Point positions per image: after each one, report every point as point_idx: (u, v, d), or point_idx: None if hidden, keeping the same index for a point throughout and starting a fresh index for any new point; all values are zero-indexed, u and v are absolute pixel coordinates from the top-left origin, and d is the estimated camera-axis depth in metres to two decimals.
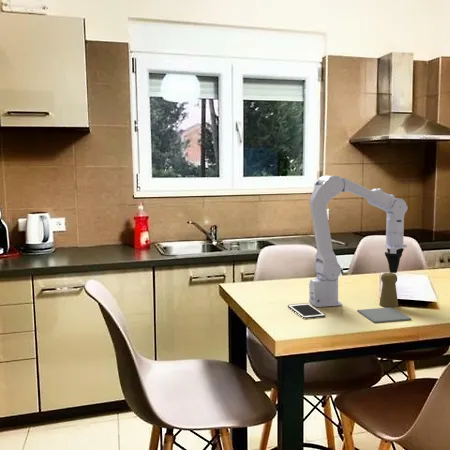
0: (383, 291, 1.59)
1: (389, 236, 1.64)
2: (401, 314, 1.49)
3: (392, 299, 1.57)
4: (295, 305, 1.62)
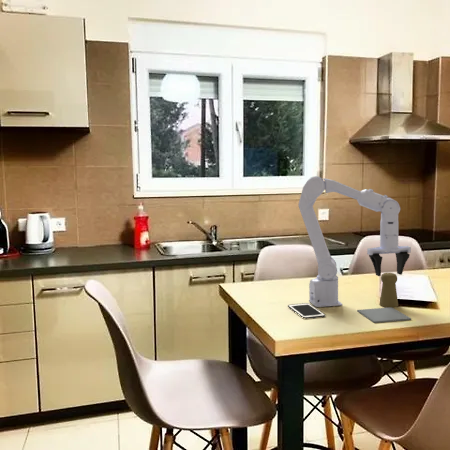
0: (383, 291, 1.59)
1: None
2: (401, 314, 1.49)
3: (392, 299, 1.57)
4: (295, 305, 1.62)
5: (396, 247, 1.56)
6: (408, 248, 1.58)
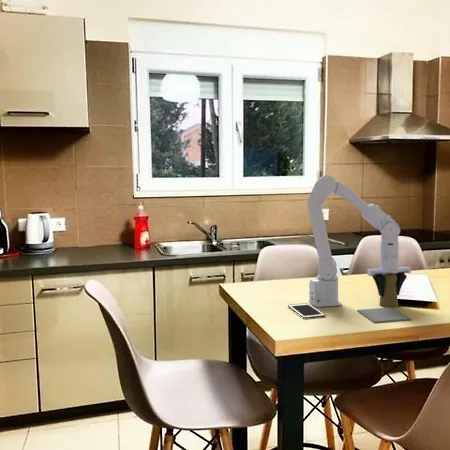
0: None
1: None
2: (401, 314, 1.49)
3: (392, 299, 1.57)
4: (295, 305, 1.62)
5: (396, 268, 1.57)
6: (408, 269, 1.59)
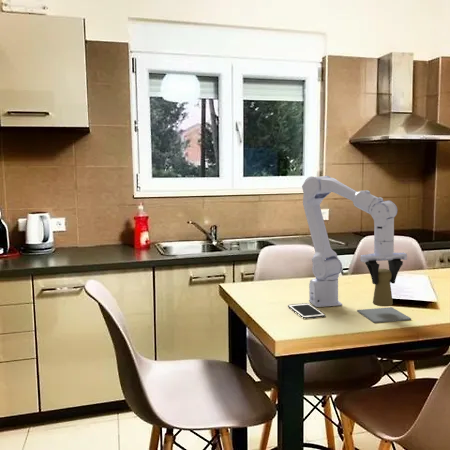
0: (377, 289, 1.48)
1: None
2: (401, 314, 1.49)
3: (386, 297, 1.47)
4: (295, 305, 1.62)
5: (391, 254, 1.45)
6: (404, 255, 1.47)
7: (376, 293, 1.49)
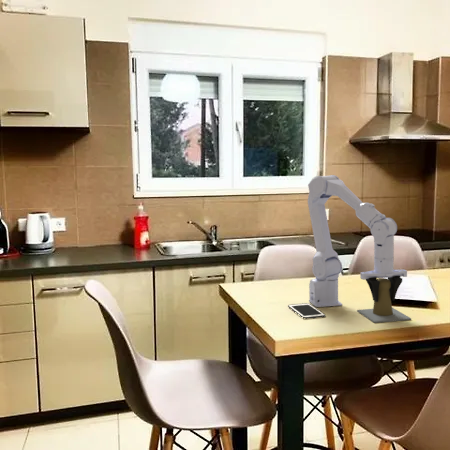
0: None
1: None
2: (401, 314, 1.49)
3: (386, 306, 1.48)
4: (295, 305, 1.62)
5: (391, 271, 1.46)
6: (404, 272, 1.48)
7: (376, 302, 1.49)
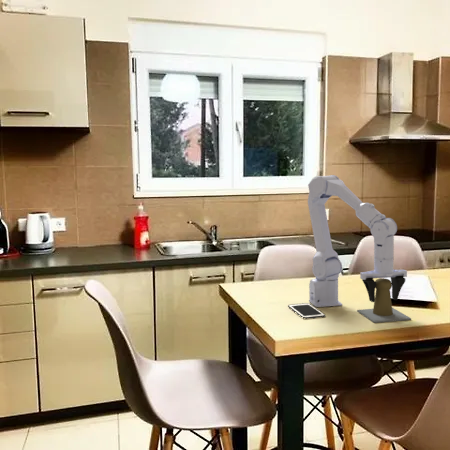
0: (377, 298, 1.49)
1: None
2: (401, 314, 1.49)
3: (386, 307, 1.48)
4: (295, 305, 1.62)
5: (391, 271, 1.46)
6: (404, 272, 1.48)
7: (376, 302, 1.49)
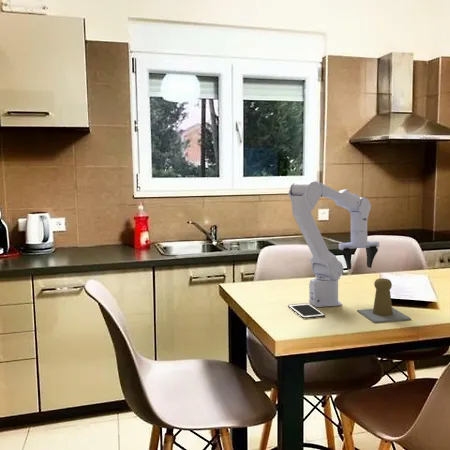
0: (377, 298, 1.49)
1: None
2: (401, 314, 1.49)
3: (386, 307, 1.48)
4: (295, 305, 1.62)
5: (365, 242, 1.68)
6: (377, 243, 1.70)
7: (376, 302, 1.49)
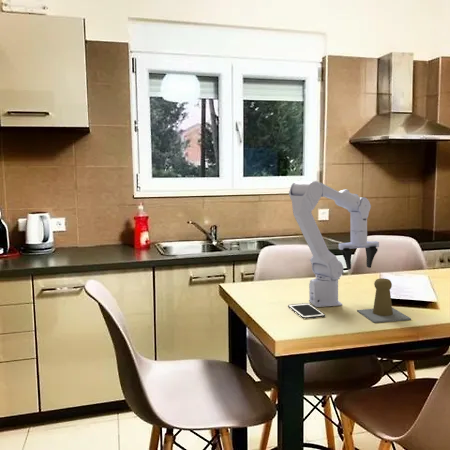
0: (377, 298, 1.49)
1: None
2: (401, 314, 1.49)
3: (386, 307, 1.48)
4: (295, 305, 1.62)
5: (365, 242, 1.68)
6: (376, 243, 1.70)
7: (376, 302, 1.49)
